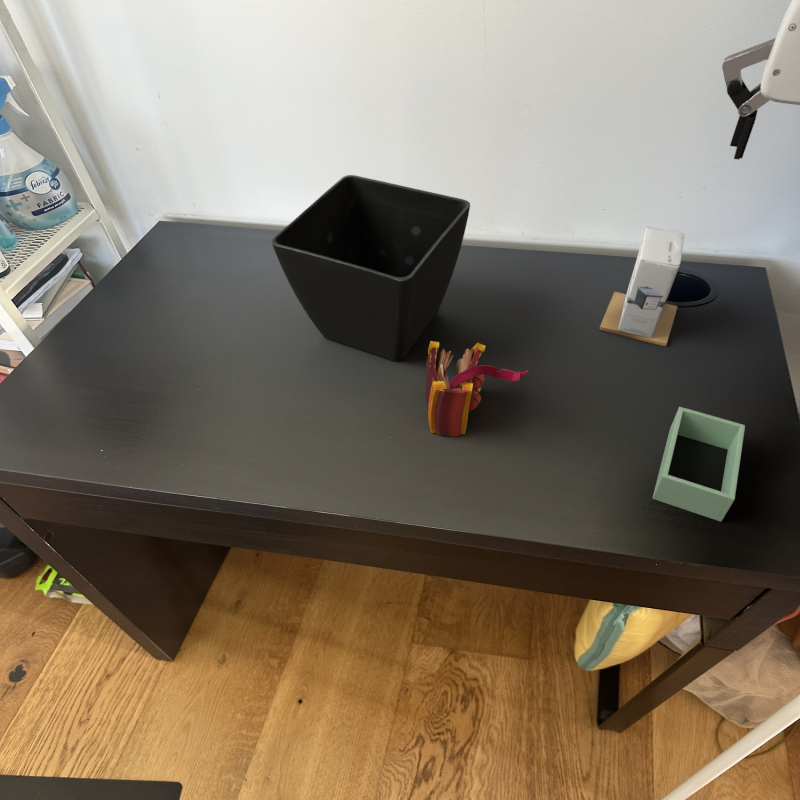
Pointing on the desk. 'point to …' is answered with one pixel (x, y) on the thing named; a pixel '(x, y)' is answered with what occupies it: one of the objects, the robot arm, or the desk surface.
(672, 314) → the coaster board
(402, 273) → the flower pot
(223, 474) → the desk surface
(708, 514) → the sleeve
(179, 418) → the desk surface
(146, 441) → the desk surface
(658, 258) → the ink box
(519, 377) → the book monster
